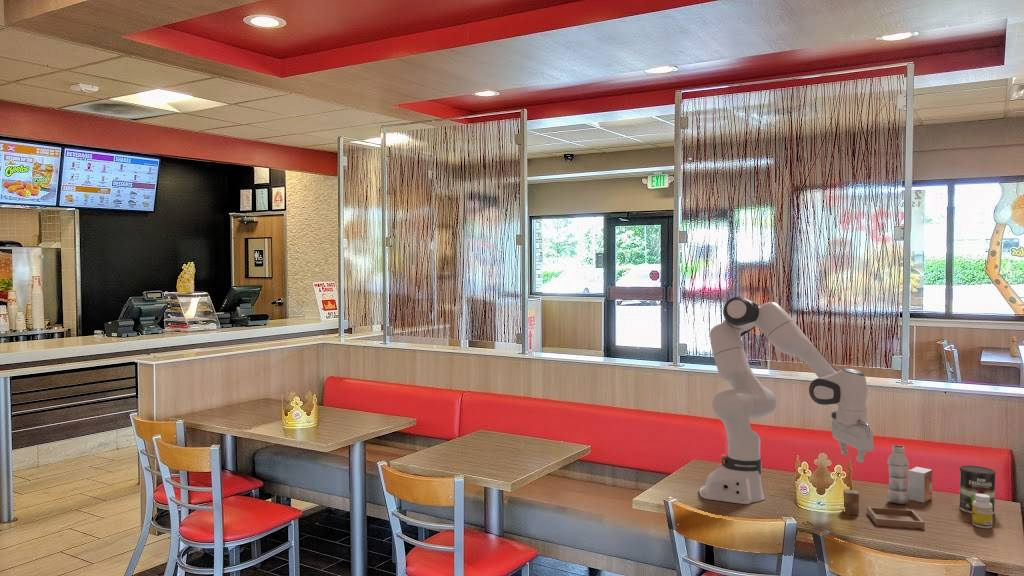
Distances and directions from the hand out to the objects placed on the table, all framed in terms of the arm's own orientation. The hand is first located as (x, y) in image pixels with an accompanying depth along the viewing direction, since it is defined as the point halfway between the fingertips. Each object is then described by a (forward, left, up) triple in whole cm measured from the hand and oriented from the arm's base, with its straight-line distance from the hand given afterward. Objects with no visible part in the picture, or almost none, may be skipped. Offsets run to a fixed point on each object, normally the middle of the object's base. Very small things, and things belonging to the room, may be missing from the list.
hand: (852, 458), depth 244 cm
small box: (+27, +21, -19) cm, 39 cm away
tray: (+12, -6, -18) cm, 23 cm away
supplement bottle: (+38, -4, -19) cm, 42 cm away
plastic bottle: (+18, +14, -18) cm, 29 cm away
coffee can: (+42, +12, -19) cm, 47 cm away
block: (0, 0, -18) cm, 18 cm away
